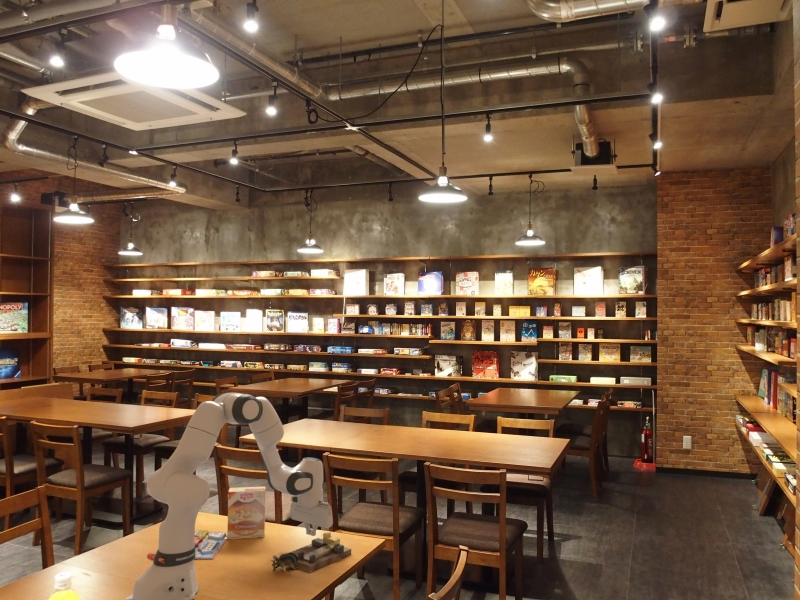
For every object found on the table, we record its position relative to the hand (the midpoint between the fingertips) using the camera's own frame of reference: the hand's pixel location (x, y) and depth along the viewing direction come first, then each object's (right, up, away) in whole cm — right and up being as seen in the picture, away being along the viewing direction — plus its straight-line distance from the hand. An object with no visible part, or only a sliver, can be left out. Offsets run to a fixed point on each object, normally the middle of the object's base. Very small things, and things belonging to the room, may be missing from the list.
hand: (311, 534), depth 246 cm
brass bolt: (+9, -1, -6) cm, 11 cm away
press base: (+3, -5, -9) cm, 11 cm away
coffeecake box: (-29, -6, +15) cm, 33 cm away
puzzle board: (-47, -6, +3) cm, 48 cm away
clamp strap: (+5, -3, -11) cm, 13 cm away
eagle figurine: (-6, -5, -22) cm, 23 cm away
